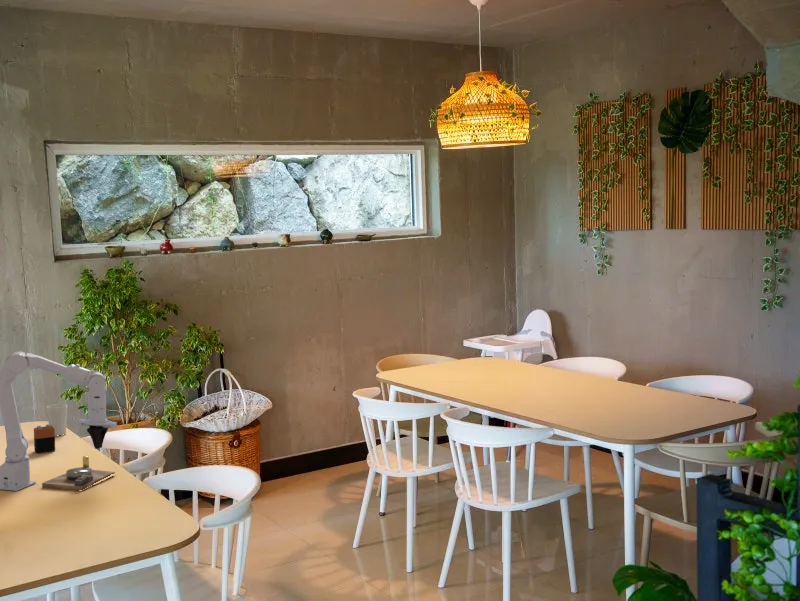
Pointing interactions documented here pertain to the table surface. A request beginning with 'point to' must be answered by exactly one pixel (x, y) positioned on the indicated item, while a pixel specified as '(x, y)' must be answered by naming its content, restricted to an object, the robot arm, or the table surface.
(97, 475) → the board
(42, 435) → the battery
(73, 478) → the cam
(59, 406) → the cup
